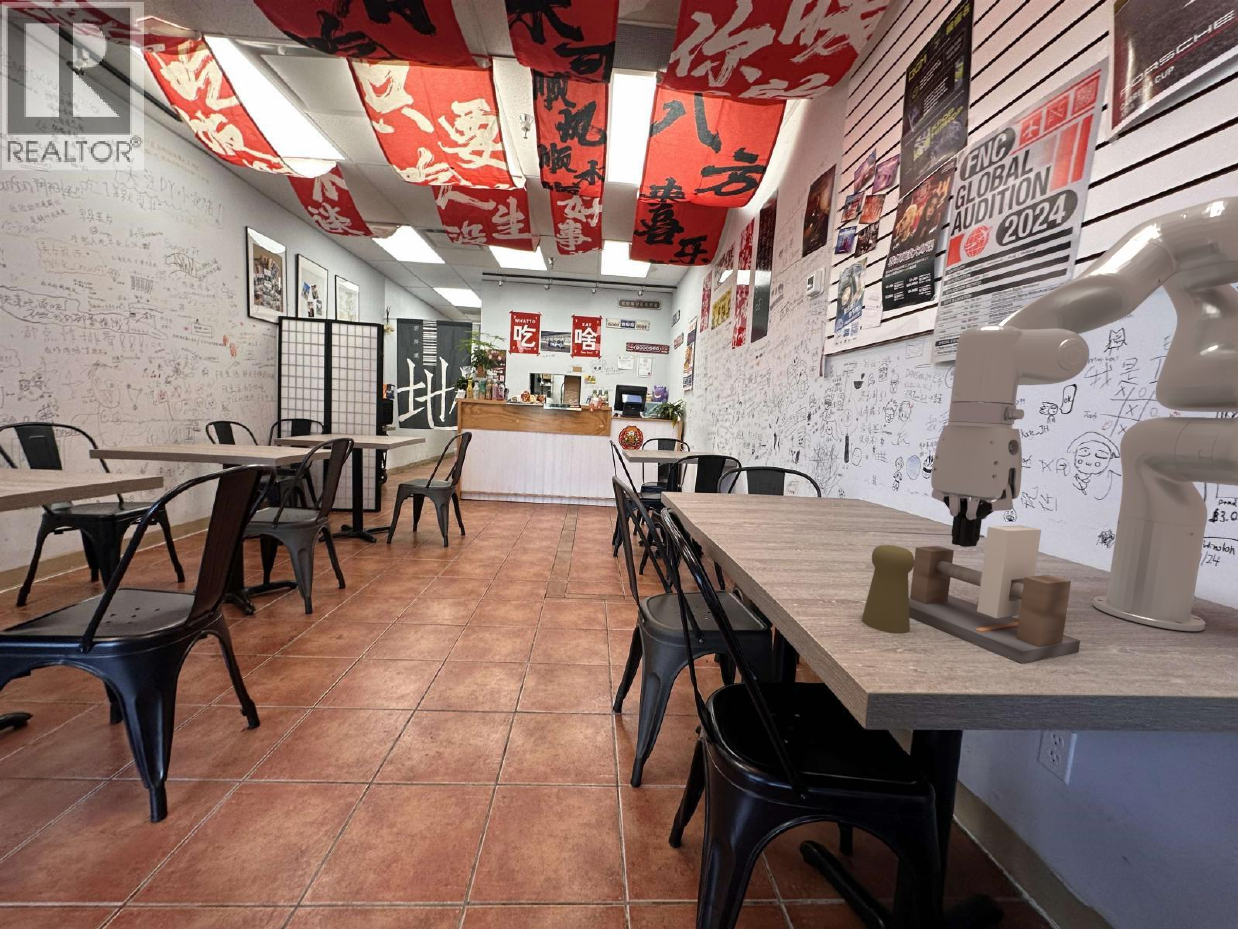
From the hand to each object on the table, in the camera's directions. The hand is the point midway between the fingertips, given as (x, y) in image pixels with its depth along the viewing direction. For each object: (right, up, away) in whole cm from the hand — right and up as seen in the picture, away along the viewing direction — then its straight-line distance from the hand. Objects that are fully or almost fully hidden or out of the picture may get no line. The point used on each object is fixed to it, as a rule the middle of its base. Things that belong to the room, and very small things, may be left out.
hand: (964, 545), depth 75 cm
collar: (+2, -8, -5) cm, 10 cm away
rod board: (+1, -11, -2) cm, 12 cm away
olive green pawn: (-13, -11, -2) cm, 17 cm away
